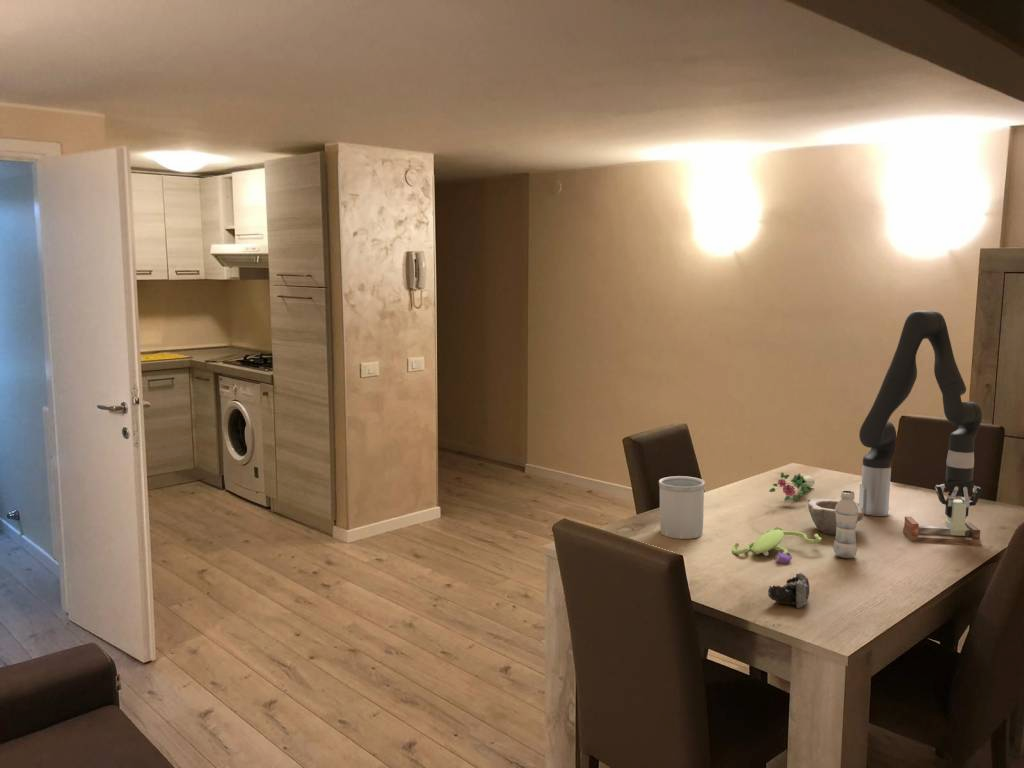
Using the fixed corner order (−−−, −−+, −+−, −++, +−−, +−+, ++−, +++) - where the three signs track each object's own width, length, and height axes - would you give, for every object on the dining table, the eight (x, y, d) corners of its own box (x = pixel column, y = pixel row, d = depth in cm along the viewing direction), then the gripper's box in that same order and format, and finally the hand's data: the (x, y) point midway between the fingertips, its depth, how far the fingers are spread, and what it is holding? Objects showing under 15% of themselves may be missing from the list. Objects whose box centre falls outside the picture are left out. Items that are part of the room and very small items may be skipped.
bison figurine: (807, 595, 213) (768, 589, 216) (810, 570, 212) (770, 564, 215) (808, 613, 202) (766, 606, 205) (811, 587, 201) (769, 580, 204)
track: (911, 541, 255) (912, 524, 255) (902, 531, 265) (903, 515, 264) (980, 545, 252) (981, 528, 251) (968, 535, 261) (970, 518, 261)
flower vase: (814, 507, 320) (796, 509, 290) (785, 494, 326) (764, 495, 296) (826, 480, 318) (809, 479, 288) (796, 467, 325) (777, 465, 295)
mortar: (859, 526, 271) (860, 499, 270) (863, 541, 256) (865, 513, 254) (806, 521, 277) (807, 495, 276) (807, 536, 261) (808, 508, 260)
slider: (952, 535, 254) (954, 504, 253) (944, 529, 261) (946, 498, 260) (966, 536, 254) (968, 504, 252) (958, 529, 260) (960, 498, 259)
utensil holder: (649, 533, 265) (650, 481, 262) (673, 523, 275) (674, 473, 273) (688, 543, 255) (689, 489, 252) (712, 532, 265) (713, 480, 263)
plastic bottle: (846, 562, 237) (849, 496, 234) (827, 555, 243) (831, 490, 240) (861, 558, 240) (865, 493, 237) (842, 551, 246) (846, 488, 243)
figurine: (828, 550, 248) (829, 533, 248) (778, 570, 232) (779, 551, 231) (776, 536, 263) (777, 519, 262) (725, 553, 246) (726, 535, 246)
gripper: (939, 466, 252) (936, 519, 254) (989, 468, 249) (985, 522, 252) (932, 461, 259) (928, 512, 262) (980, 462, 257) (976, 515, 259)
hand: (956, 517), depth 257 cm, fingers closed on slider, 3 cm apart
